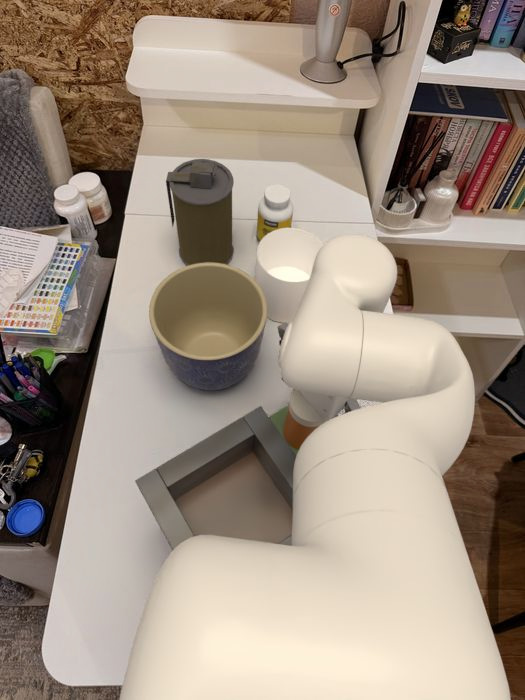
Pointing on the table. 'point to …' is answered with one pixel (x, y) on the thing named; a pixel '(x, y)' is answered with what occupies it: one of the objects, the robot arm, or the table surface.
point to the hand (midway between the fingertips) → (312, 402)
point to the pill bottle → (274, 210)
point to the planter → (209, 323)
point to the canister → (202, 210)
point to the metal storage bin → (227, 485)
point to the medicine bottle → (300, 420)
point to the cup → (285, 270)
